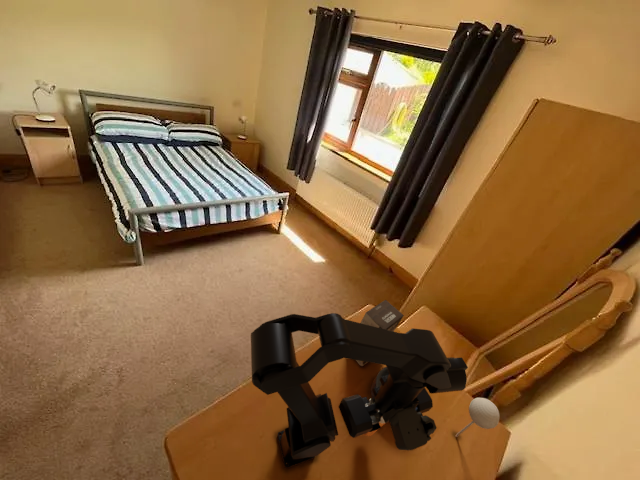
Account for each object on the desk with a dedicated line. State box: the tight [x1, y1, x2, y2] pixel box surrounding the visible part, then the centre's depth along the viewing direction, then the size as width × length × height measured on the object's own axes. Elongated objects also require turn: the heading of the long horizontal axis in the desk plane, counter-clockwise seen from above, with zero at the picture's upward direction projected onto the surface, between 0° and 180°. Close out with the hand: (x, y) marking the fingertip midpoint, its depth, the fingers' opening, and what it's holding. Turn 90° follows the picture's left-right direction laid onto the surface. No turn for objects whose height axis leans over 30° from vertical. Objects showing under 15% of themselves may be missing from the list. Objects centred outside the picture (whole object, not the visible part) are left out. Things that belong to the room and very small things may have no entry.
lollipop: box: [454, 397, 501, 438], centre depth 69 cm, size 6×6×15 cm
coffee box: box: [355, 299, 405, 367], centre depth 81 cm, size 9×6×16 cm
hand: (372, 423), depth 64 cm, fingers closed on milkshake, 4 cm apart
